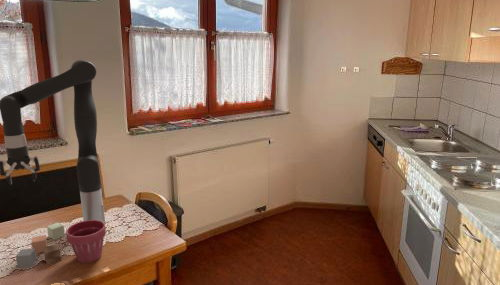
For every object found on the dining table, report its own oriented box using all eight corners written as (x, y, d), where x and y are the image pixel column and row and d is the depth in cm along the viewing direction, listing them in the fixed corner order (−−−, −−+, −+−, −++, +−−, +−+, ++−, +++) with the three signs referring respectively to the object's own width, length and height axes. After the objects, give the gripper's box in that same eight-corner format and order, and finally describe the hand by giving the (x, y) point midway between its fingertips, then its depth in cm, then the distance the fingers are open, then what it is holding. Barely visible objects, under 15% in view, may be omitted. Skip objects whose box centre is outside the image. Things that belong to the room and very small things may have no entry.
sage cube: (59, 232, 177) (58, 222, 176) (65, 235, 174) (63, 225, 173) (48, 236, 174) (46, 226, 172) (53, 240, 171) (52, 229, 169)
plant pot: (86, 270, 147) (82, 239, 144) (61, 260, 154) (57, 231, 151) (115, 253, 159) (112, 224, 156) (92, 244, 166) (88, 216, 163)
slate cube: (36, 259, 155) (34, 248, 154) (32, 266, 150) (30, 255, 149) (22, 261, 154) (21, 249, 153) (17, 268, 150) (15, 256, 148)
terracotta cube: (47, 245, 166) (45, 234, 165) (46, 251, 162) (45, 240, 160) (33, 248, 164) (32, 237, 163) (33, 253, 160) (31, 242, 158)
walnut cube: (59, 255, 158) (57, 243, 157) (61, 260, 154) (59, 249, 153) (45, 259, 156) (43, 247, 154) (47, 264, 152) (45, 253, 150)
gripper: (36, 141, 167) (42, 177, 171) (-3, 145, 162) (4, 182, 166) (35, 145, 161) (41, 182, 165) (-6, 149, 155) (1, 188, 159)
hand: (22, 182), depth 165 cm, fingers open, 8 cm apart
